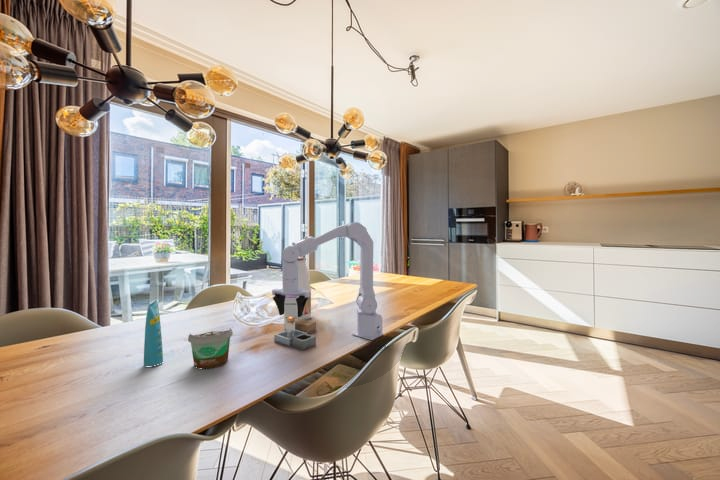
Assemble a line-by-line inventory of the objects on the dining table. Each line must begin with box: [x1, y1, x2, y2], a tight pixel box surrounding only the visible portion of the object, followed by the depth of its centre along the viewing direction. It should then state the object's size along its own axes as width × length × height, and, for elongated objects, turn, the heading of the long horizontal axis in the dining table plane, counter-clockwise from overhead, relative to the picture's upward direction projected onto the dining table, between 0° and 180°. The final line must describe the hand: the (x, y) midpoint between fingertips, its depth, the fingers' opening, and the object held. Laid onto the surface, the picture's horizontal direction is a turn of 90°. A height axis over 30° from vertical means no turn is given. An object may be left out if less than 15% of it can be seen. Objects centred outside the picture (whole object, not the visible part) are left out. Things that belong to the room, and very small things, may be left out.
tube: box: [143, 298, 164, 367], centre depth 90 cm, size 7×5×19 cm, turn 26°
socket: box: [290, 333, 317, 351], centre depth 105 cm, size 6×6×3 cm
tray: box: [273, 330, 307, 347], centre depth 110 cm, size 8×8×2 cm
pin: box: [286, 316, 295, 339], centre depth 110 cm, size 3×3×8 cm
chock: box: [295, 319, 317, 335], centre depth 120 cm, size 7×6×4 cm
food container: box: [187, 326, 234, 370], centre depth 89 cm, size 12×6×10 cm, turn 117°
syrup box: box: [283, 296, 301, 331], centre depth 124 cm, size 6×6×14 cm
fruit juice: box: [297, 257, 312, 320], centre depth 139 cm, size 9×9×28 cm
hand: (290, 315), depth 110 cm, fingers open, 7 cm apart
